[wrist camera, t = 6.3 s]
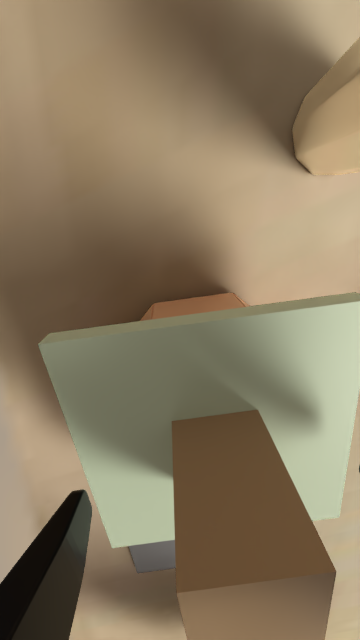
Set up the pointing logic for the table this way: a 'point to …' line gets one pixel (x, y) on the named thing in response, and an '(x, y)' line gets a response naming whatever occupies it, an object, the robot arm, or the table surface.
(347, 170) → the milkshake
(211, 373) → the cover board
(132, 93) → the table surface
